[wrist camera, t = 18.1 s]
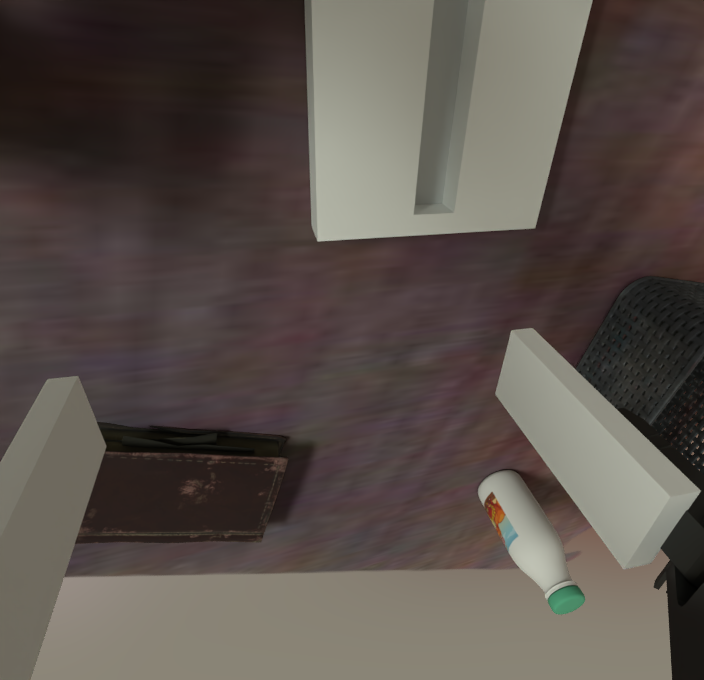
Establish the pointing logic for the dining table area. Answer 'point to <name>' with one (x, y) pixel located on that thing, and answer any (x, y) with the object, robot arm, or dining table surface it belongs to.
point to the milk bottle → (530, 538)
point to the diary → (183, 486)
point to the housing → (435, 112)
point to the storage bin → (654, 358)
